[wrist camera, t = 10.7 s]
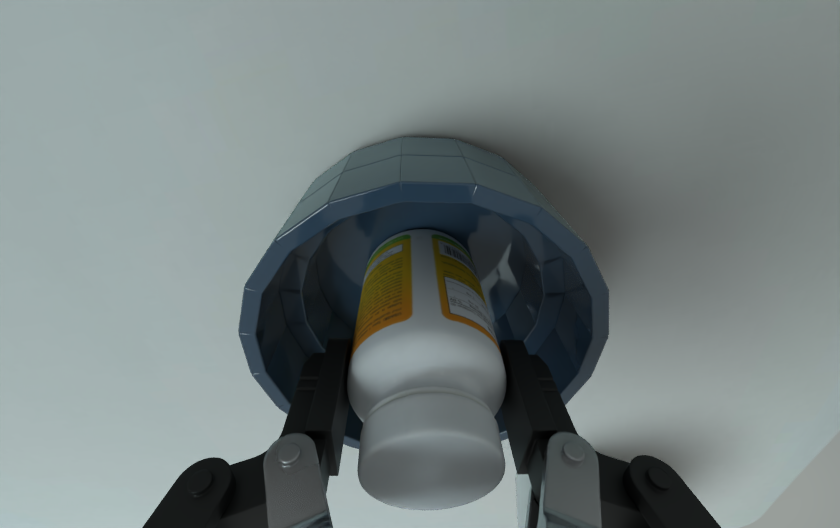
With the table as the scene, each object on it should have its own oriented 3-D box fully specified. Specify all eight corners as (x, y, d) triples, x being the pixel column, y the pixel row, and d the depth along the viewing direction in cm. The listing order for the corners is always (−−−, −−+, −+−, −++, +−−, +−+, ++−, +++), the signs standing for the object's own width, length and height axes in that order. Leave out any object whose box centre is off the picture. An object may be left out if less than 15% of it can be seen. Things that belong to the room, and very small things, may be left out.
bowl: (265, 128, 14) (188, 175, 9) (583, 139, 15) (673, 189, 10) (307, 358, 21) (276, 457, 16) (523, 359, 22) (558, 455, 17)
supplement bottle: (369, 316, 19) (340, 526, 11) (361, 225, 16) (315, 416, 8) (469, 315, 19) (515, 521, 11) (480, 225, 16) (553, 412, 8)
